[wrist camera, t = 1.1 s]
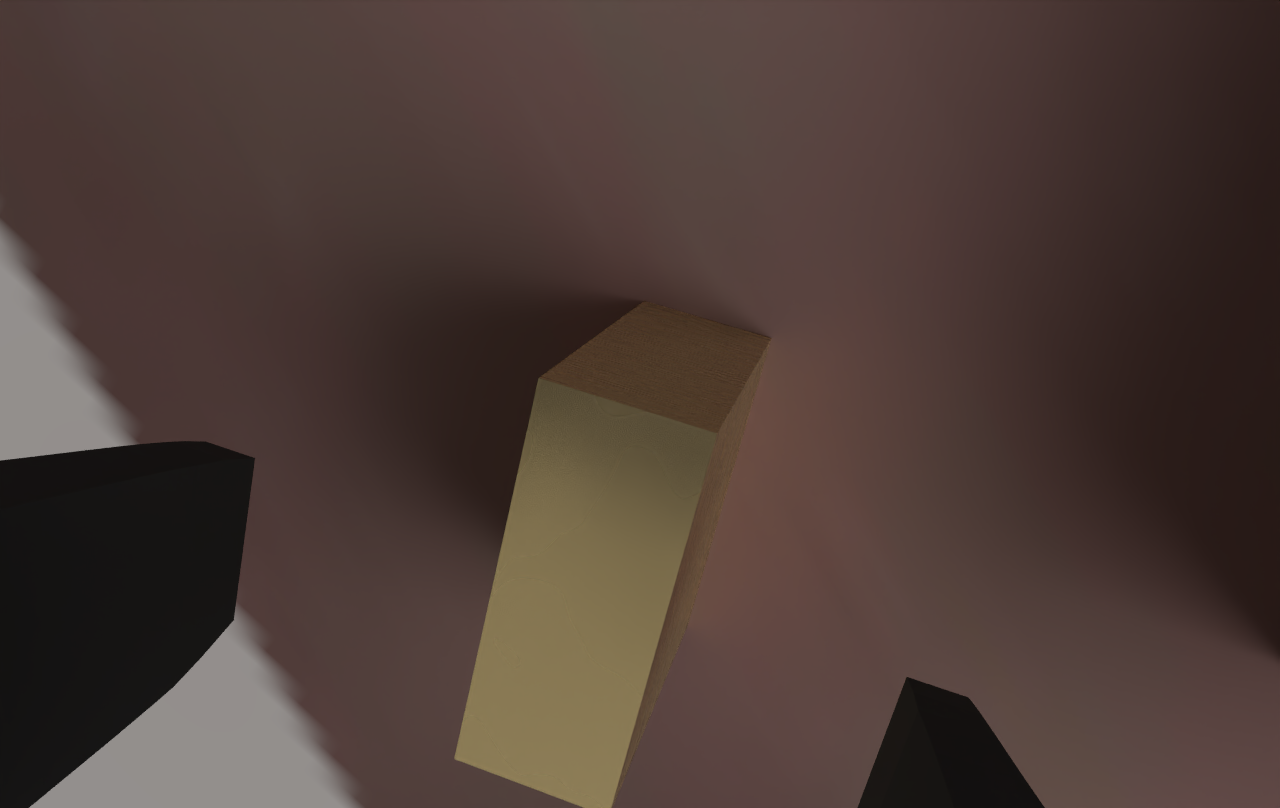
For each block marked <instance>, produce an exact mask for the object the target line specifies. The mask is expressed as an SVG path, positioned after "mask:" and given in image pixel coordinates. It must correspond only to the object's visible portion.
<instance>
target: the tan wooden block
mask: <svg viewBox="0 0 1280 808" xmlns="http://www.w3.org/2000/svg"><path fill="white" fill-rule="evenodd" d="M770 341H771V338H769V337H766V336H762V335H759V334H755V333H752V332H749V331H745V330H742V329H738V328H735V327H732V326H728V325H725V324H721V323H718V322H714V321H711V320H708V319H704V318H701V317H697V316H694V315H691V314H687V313H684V312H680V311H677V310H674V309H670V308H667V307H663V306H660V305H657V304H653V303H650V302H646V301H643V302H642V303H641V304H639V305H638V306H637V307H635V308H634V309H632V310H631V311H630V312H628V313H627V314H626V315H624V316H623V317H621V318H620V319H619V320H617V321H616V322H615V323H613V324H612V325H611V326H609V327H608V328H606V329H605V330H604V331H602V332H601V333H600V334H598V335H597V336H595V337H594V338H593V339H591V340H590V341H589V342H587V343H586V344H584V345H583V346H582V347H580V348H579V349H578V350H576V351H575V352H573V353H572V354H571V355H569V356H568V357H567V358H565V359H564V360H563V361H561V362H560V363H558V364H557V365H556V366H554V367H553V368H552V369H550V370H549V371H547V372H546V373H545V374H543V375H542V376H541V377H539V379H538V383H537V388H536V392H535V397H534V401H533V406H532V410H531V415H530V419H529V424H528V428H527V433H526V437H525V442H524V446H523V451H522V455H521V460H520V465H519V469H518V474H517V478H516V483H515V487H514V492H513V496H512V501H511V505H510V510H509V514H508V519H507V523H506V528H505V532H504V537H503V541H502V546H501V550H500V555H499V559H498V564H497V569H496V573H495V578H494V582H493V587H492V591H491V596H490V600H489V605H488V609H487V614H486V618H485V623H484V627H483V632H482V636H481V641H480V645H479V650H478V654H477V659H476V663H475V668H474V672H473V677H472V682H471V686H470V691H469V695H468V700H467V704H466V709H465V713H464V718H463V722H462V727H461V731H460V736H459V740H458V745H457V749H456V754H455V758H454V759H456V760H459V761H461V762H464V763H467V764H469V765H472V766H475V767H477V768H480V769H483V770H485V771H488V772H491V773H493V774H496V775H499V776H501V777H504V778H507V779H509V780H512V781H514V782H517V783H520V784H522V785H525V786H528V787H530V788H533V789H536V790H538V791H541V792H544V793H546V794H549V795H552V796H554V797H557V798H560V799H562V800H565V801H568V802H570V803H573V804H576V805H578V806H581V807H584V808H612V807H613V805H614V803H615V800H616V798H617V795H618V793H619V790H620V788H621V786H622V783H623V781H624V778H625V776H626V773H627V771H628V769H629V766H630V764H631V761H632V759H633V756H634V754H635V752H636V749H637V747H638V744H639V742H640V740H641V737H642V735H643V732H644V730H645V727H646V725H647V723H648V720H649V718H650V715H651V713H652V710H653V708H654V706H655V703H656V701H657V698H658V696H659V693H660V691H661V689H662V686H663V684H664V681H665V679H666V676H667V674H668V672H669V669H670V667H671V664H672V662H673V659H674V657H675V655H676V652H677V650H678V647H679V645H680V642H681V640H682V638H683V635H684V633H685V630H686V628H687V625H688V622H689V619H690V615H691V612H692V608H693V605H694V601H695V598H696V595H697V591H698V588H699V584H700V581H701V578H702V574H703V571H704V567H705V564H706V560H707V557H708V554H709V550H710V547H711V543H712V540H713V536H714V533H715V530H716V526H717V523H718V519H719V516H720V512H721V509H722V506H723V502H724V499H725V495H726V492H727V489H728V485H729V482H730V478H731V475H732V471H733V468H734V465H735V461H736V458H737V454H738V451H739V447H740V444H741V441H742V437H743V434H744V430H745V427H746V424H747V420H748V417H749V413H750V410H751V406H752V403H753V400H754V396H755V393H756V389H757V386H758V382H759V379H760V376H761V372H762V369H763V365H764V362H765V358H766V355H767V352H768V348H769V345H770Z"/></svg>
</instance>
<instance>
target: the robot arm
mask: <svg viewBox="0 0 1280 808" xmlns="http://www.w3.org/2000/svg"><path fill="white" fill-rule="evenodd" d="M254 461H255V458H253V457H250V456H247V455H244V454H241V453H238V452H235V451H232V450H229V449H226V448H223V447H220V446H217V445H214V444H211V443H208V442H197V441H181V442H162V443H150V444H139V445H129V446H120V447H111V448H102V449H94V450H85V451H77V452H69V453H60V454H53V455H44V456H35V457H27V458H19V459H10V460H2V461H0V808H29V807H30V806H31V805H33V804H34V803H35V802H36V801H38V800H39V799H40V798H41V797H42V796H44V795H45V794H46V793H47V792H48V791H50V790H51V789H52V788H53V787H55V786H56V785H57V784H58V783H59V782H61V781H62V780H63V779H64V778H65V777H67V776H68V775H69V774H70V773H71V772H73V771H74V770H75V769H76V768H78V767H79V766H80V765H81V764H82V763H84V762H85V761H86V760H87V759H88V758H90V757H91V756H92V755H93V754H95V752H97V751H98V750H99V749H101V748H102V747H103V746H104V745H105V744H107V743H108V742H109V741H110V740H111V739H113V738H114V737H115V736H116V735H118V734H119V733H120V732H121V731H122V730H123V729H125V728H126V727H127V726H128V725H129V724H131V723H132V722H133V721H134V720H135V719H136V718H138V717H139V716H140V715H141V714H142V713H143V712H145V711H146V710H147V709H148V708H150V707H151V706H152V705H153V704H154V703H155V702H157V701H158V700H159V699H160V698H161V697H162V696H163V695H164V694H166V693H167V692H168V691H169V690H170V689H171V688H173V687H174V686H175V685H176V684H177V682H178V681H179V680H180V679H181V678H182V677H183V676H184V675H185V674H186V673H187V672H188V671H189V670H190V669H191V668H192V667H193V666H194V664H195V663H196V662H197V661H198V660H199V659H200V658H201V657H202V656H203V655H204V654H205V652H206V651H207V650H208V649H209V648H210V647H211V646H212V644H213V643H214V642H215V641H216V640H217V639H218V638H219V636H220V635H221V634H222V633H223V632H224V631H225V629H226V628H227V627H228V626H229V625H230V624H231V623H232V621H233V620H234V613H235V606H236V598H237V590H238V583H239V575H240V568H241V560H242V552H243V545H244V537H245V530H246V522H247V514H248V507H249V499H250V492H251V484H252V476H253V469H254ZM858 808H1045V807H1044V806H1043V805H1042V803H1041V802H1040V800H1039V799H1038V797H1037V796H1036V795H1035V793H1034V792H1033V790H1032V789H1031V787H1030V786H1029V784H1028V783H1027V782H1026V780H1025V779H1024V777H1023V776H1022V774H1021V773H1020V771H1019V770H1018V768H1017V767H1016V765H1015V764H1014V762H1013V761H1012V759H1011V758H1010V756H1009V755H1008V753H1007V752H1006V750H1005V749H1004V747H1003V746H1002V744H1001V743H1000V741H999V740H998V738H997V737H996V735H995V734H994V732H993V731H992V730H991V728H990V727H989V725H988V724H987V722H986V721H985V719H984V718H983V716H982V715H981V714H980V712H979V711H978V709H977V708H976V707H975V705H974V704H973V703H972V701H971V700H970V699H969V698H968V697H965V696H962V695H959V694H956V693H953V692H950V691H947V690H944V689H941V688H938V687H935V686H932V685H929V684H926V683H923V682H921V681H918V680H915V679H912V678H909V677H907V678H906V680H905V683H904V686H903V688H902V691H901V694H900V696H899V699H898V702H897V704H896V707H895V710H894V712H893V715H892V718H891V720H890V723H889V726H888V728H887V731H886V734H885V736H884V739H883V742H882V744H881V747H880V750H879V752H878V755H877V758H876V760H875V763H874V766H873V768H872V771H871V773H870V776H869V779H868V781H867V784H866V787H865V789H864V792H863V795H862V797H861V800H860V803H859V805H858Z"/></svg>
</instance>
